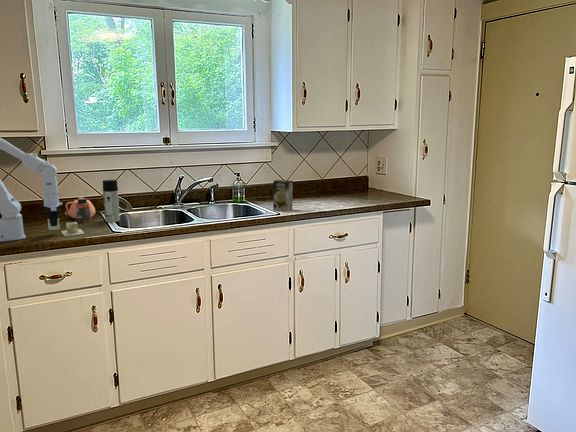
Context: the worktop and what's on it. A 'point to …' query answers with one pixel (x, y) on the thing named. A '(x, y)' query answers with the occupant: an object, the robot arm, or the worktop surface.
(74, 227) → the beech brick
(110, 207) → the spray can
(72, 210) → the sugar bowl
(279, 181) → the coffee box
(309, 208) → the worktop surface
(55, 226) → the sage brick
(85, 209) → the supplement bottle
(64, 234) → the baseplate
